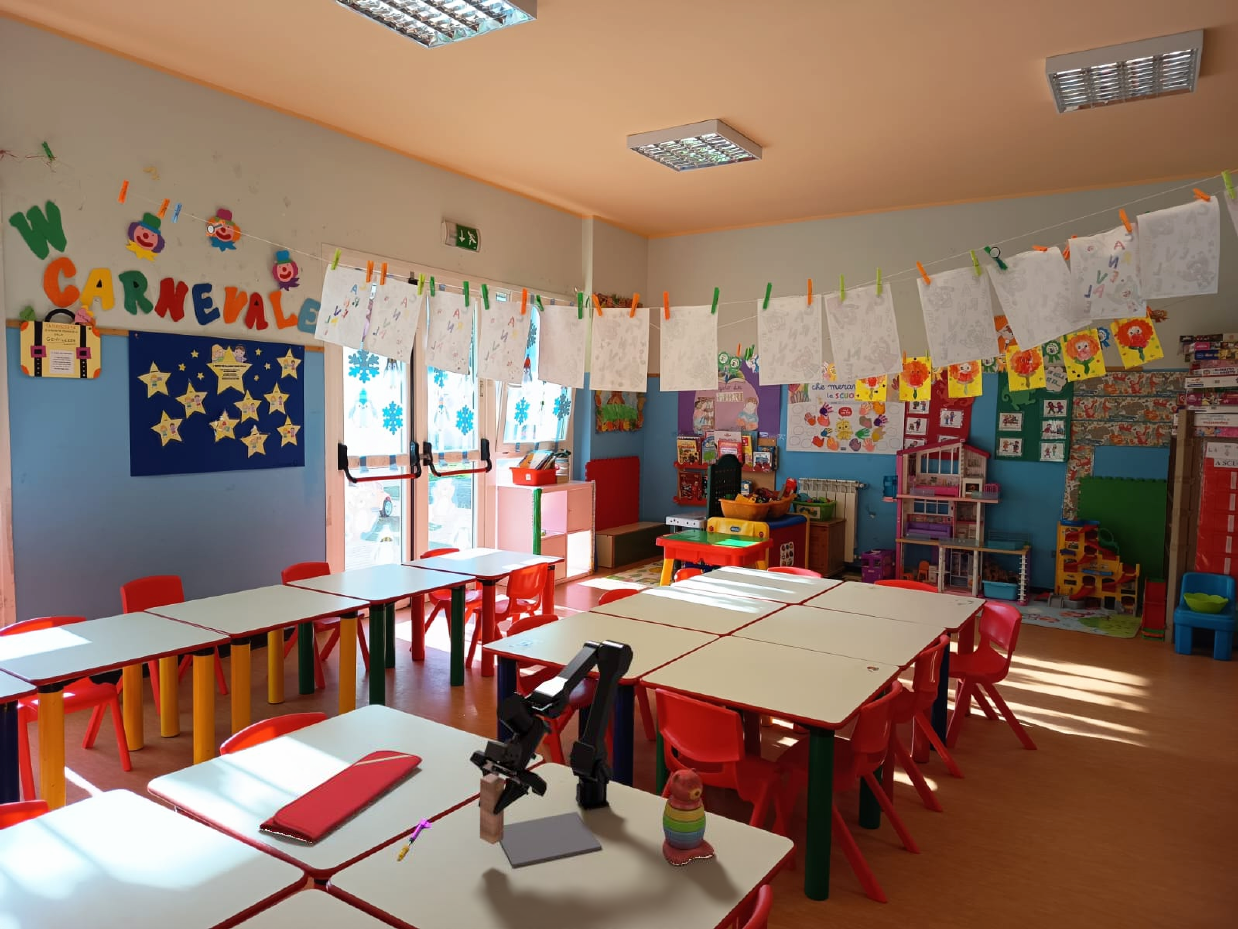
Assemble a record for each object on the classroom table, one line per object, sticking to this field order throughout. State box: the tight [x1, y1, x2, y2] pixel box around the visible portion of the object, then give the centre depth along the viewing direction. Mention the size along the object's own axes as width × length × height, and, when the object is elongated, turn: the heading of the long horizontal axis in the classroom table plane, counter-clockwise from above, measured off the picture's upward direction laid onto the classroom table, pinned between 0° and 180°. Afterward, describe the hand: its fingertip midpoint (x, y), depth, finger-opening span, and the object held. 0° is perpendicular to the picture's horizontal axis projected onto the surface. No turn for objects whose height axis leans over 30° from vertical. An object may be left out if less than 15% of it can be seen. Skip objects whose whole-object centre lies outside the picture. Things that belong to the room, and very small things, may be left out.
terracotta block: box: [479, 774, 505, 845], centre depth 173 cm, size 3×4×13 cm
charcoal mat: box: [498, 811, 603, 868], centre depth 183 cm, size 20×16×1 cm
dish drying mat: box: [259, 749, 423, 844], centre depth 201 cm, size 16×41×4 cm, turn 159°
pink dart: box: [397, 818, 432, 861], centre depth 181 cm, size 3×1×16 cm
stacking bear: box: [662, 767, 715, 865], centre depth 179 cm, size 11×10×18 cm
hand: (487, 810), depth 172 cm, fingers closed on terracotta block, 4 cm apart
